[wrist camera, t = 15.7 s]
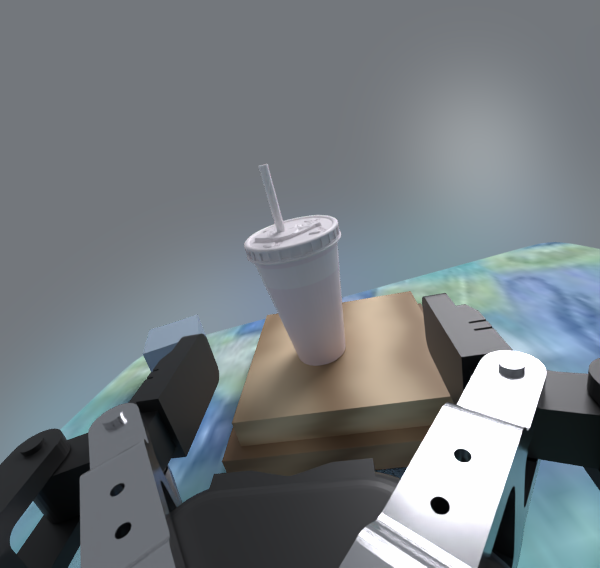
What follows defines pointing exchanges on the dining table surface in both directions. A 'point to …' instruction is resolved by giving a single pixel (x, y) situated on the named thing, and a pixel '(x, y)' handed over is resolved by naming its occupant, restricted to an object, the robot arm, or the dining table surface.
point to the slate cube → (169, 338)
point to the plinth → (340, 394)
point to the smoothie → (302, 278)
